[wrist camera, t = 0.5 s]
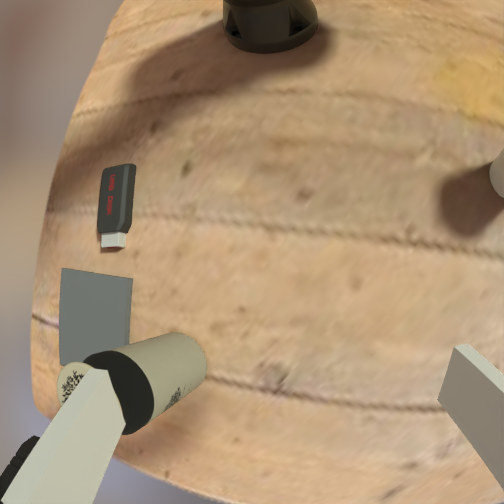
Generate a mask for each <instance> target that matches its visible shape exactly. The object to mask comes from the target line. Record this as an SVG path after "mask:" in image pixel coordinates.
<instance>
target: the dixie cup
mask: <svg viewBox="0 0 504 504" xmlns="http://www.w3.org/2000/svg"><path fill="white" fill-rule="evenodd" d="M489 176H490V181H491V184H492V186H493V188H494V190H495V191H496V192H497V194H498V195H500V196H501V197H502V198H504V149H503V150H502V152H501V153H500V154H499V155H498V157H497V158H496V159H495V160H494V162H493V163H492V164H491V166H490V170H489Z"/></svg>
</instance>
